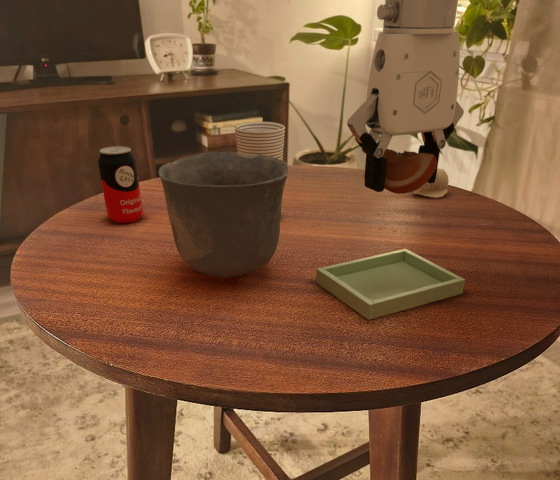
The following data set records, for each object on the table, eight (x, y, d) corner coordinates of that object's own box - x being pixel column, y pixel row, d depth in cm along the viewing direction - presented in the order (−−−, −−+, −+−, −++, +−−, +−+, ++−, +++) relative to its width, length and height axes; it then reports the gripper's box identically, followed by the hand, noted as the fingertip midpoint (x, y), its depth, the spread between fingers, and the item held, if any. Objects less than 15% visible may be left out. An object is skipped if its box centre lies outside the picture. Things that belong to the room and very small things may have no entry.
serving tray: (403, 261, 85) (405, 248, 84) (462, 293, 76) (465, 279, 75) (316, 282, 79) (316, 268, 78) (368, 320, 70) (369, 304, 69)
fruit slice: (356, 191, 70) (359, 149, 68) (382, 179, 75) (386, 140, 72) (417, 203, 66) (423, 159, 63) (441, 190, 71) (447, 149, 68)
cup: (292, 214, 104) (293, 123, 95) (271, 228, 98) (270, 132, 89) (252, 207, 107) (250, 119, 99) (229, 220, 101) (224, 128, 92)
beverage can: (103, 224, 100) (89, 153, 93) (115, 212, 105) (104, 145, 98) (137, 225, 99) (126, 154, 92) (148, 214, 104) (139, 145, 98)
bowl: (316, 273, 82) (320, 167, 74) (223, 313, 72) (215, 195, 63) (237, 241, 92) (232, 145, 84) (145, 272, 82) (130, 166, 74)
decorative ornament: (452, 196, 113) (457, 168, 110) (416, 200, 111) (420, 172, 108) (441, 190, 116) (445, 163, 113) (406, 194, 114) (409, 167, 111)
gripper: (373, 19, 54) (359, 203, 64) (505, 16, 61) (473, 183, 71) (332, 17, 60) (324, 186, 70) (456, 15, 66) (433, 169, 76)
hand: (400, 183), depth 70 cm, fingers closed on fruit slice, 7 cm apart
